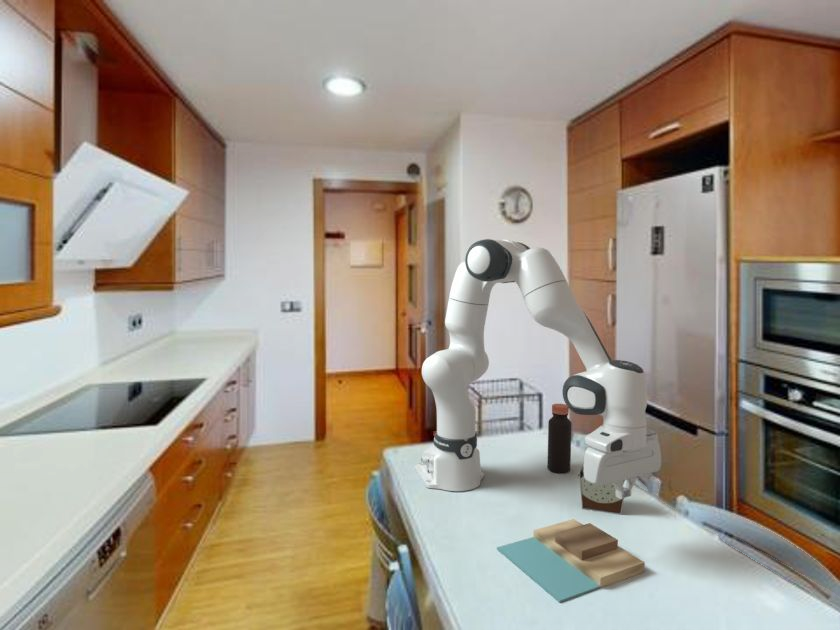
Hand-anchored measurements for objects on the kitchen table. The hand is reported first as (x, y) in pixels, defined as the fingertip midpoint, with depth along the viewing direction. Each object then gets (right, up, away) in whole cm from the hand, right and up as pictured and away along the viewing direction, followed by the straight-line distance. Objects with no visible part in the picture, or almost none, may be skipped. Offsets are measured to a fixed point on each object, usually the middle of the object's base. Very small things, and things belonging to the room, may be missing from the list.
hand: (623, 496), depth 112 cm
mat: (-19, -12, -8) cm, 24 cm away
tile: (-9, -9, -3) cm, 14 cm away
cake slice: (+2, -10, +19) cm, 21 cm away
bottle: (-2, -7, +44) cm, 44 cm away
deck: (-9, -11, -3) cm, 15 cm away
